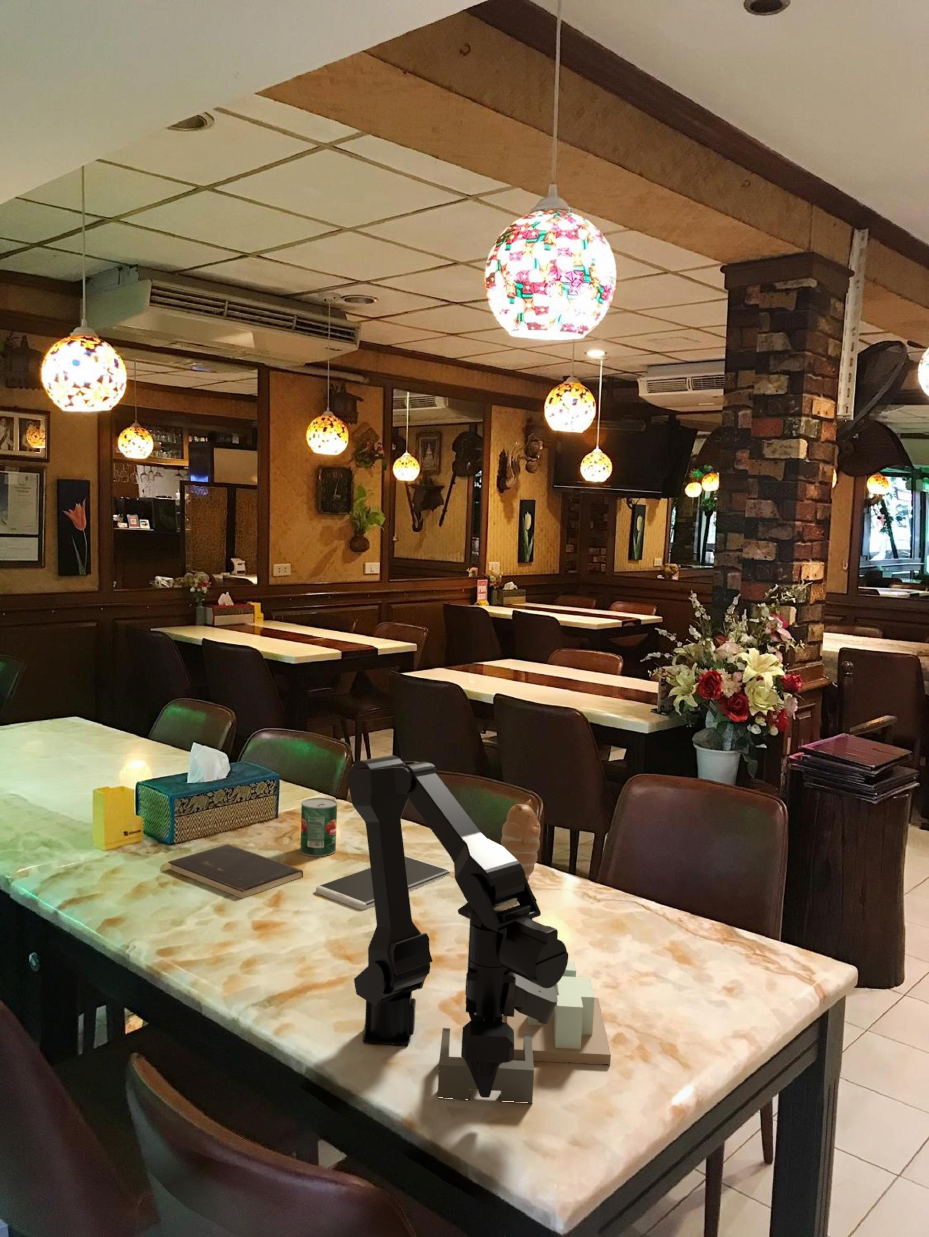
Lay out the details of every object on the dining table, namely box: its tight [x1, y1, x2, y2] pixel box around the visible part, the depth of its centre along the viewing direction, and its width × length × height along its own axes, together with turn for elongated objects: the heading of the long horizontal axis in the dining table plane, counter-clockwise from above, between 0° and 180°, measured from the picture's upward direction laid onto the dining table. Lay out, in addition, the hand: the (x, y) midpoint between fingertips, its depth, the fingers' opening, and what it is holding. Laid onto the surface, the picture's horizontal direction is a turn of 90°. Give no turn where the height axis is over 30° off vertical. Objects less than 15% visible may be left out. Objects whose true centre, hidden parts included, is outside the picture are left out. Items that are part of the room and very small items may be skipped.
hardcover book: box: [168, 843, 304, 899], centre depth 196 cm, size 16×23×2 cm
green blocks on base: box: [506, 960, 612, 1066], centre depth 138 cm, size 14×16×8 cm
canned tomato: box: [299, 797, 338, 858], centre depth 211 cm, size 8×8×11 cm
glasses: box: [437, 1027, 535, 1104], centre depth 125 cm, size 9×12×4 cm
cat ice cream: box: [500, 799, 541, 882], centre depth 193 cm, size 9×8×18 cm
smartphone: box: [315, 855, 451, 911], centre depth 194 cm, size 13×27×2 cm, turn 142°
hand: (485, 1075), depth 121 cm, fingers open, 9 cm apart
